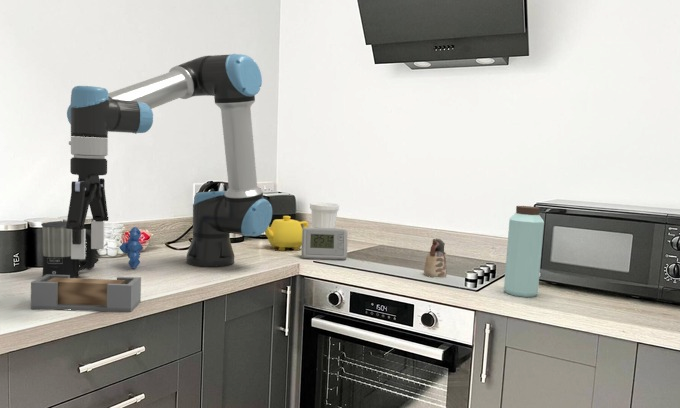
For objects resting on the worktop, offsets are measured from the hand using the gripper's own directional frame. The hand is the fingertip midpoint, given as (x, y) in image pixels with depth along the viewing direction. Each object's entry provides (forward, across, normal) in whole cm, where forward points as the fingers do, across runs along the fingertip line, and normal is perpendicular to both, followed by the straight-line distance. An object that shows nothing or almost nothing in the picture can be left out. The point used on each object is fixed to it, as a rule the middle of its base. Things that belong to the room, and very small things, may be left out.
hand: (88, 253), depth 128 cm
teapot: (+12, -82, +43) cm, 94 cm away
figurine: (+12, -44, +92) cm, 103 cm away
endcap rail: (+12, 0, 0) cm, 12 cm away
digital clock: (+12, -66, +57) cm, 88 cm away
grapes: (+12, -42, -2) cm, 43 cm away
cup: (+12, -106, +59) cm, 122 cm away
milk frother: (+12, -30, -15) cm, 36 cm away
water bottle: (+12, -24, +112) cm, 115 cm away
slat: (+11, 0, 0) cm, 11 cm away
